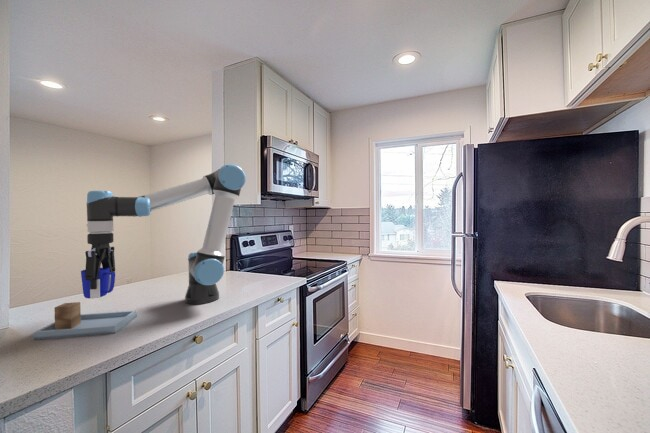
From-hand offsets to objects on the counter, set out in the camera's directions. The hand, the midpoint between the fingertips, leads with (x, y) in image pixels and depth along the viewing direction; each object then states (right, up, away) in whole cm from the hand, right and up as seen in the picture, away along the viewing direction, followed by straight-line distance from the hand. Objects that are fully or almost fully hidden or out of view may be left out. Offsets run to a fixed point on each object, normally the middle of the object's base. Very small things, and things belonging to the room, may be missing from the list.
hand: (101, 294), depth 103 cm
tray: (-4, -12, -1) cm, 12 cm away
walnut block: (-11, -11, -2) cm, 16 cm away
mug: (0, -1, -1) cm, 1 cm away
